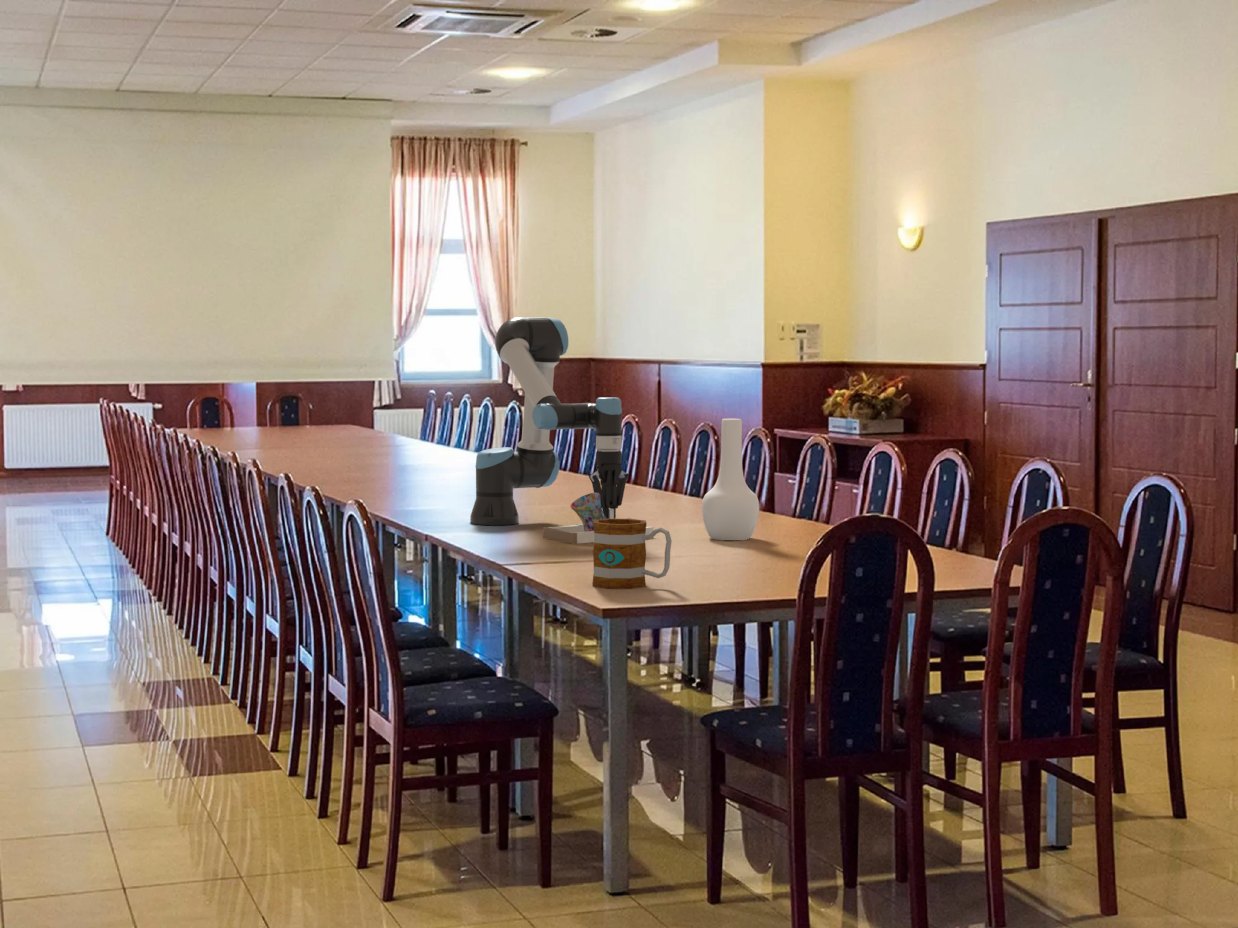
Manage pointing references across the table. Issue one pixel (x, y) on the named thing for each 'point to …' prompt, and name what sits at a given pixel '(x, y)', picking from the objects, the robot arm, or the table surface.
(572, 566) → the table surface
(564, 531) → the teal-striped rail frame
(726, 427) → the vase
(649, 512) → the table surface
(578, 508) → the mug
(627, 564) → the mug
